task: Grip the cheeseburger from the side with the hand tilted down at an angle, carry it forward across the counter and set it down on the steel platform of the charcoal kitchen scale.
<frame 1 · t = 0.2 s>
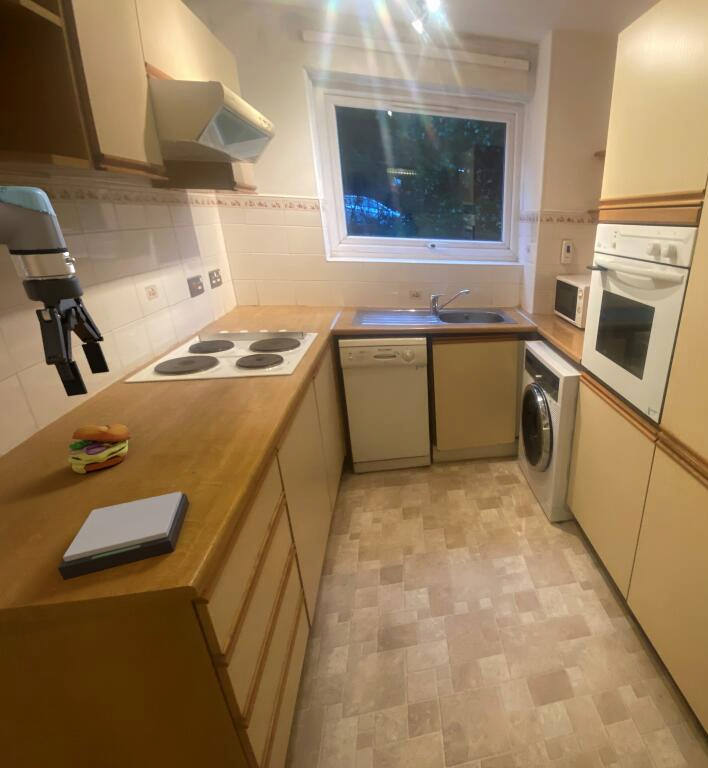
hand: (90, 383, 88), 20 cm above the countertop, tool pointing down, fingers open, 13 cm apart
cheeseburger: (104, 461, 98), on the countertop
kitchen scale: (133, 537, 75), on the countertop
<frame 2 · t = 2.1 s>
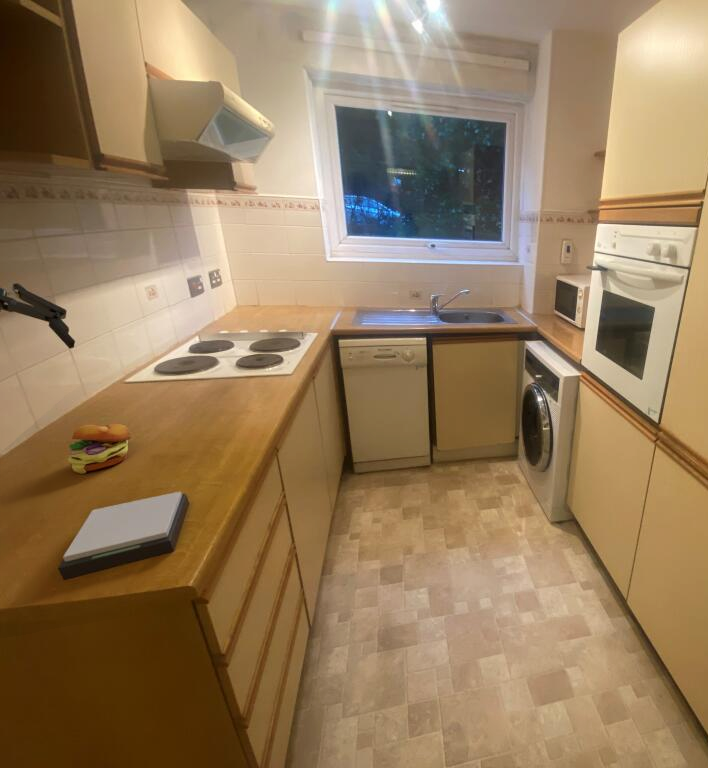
hand: (32, 355, 90), 24 cm above the countertop, tool tilted 40°, fingers open, 13 cm apart
nothing on the countertop moved.
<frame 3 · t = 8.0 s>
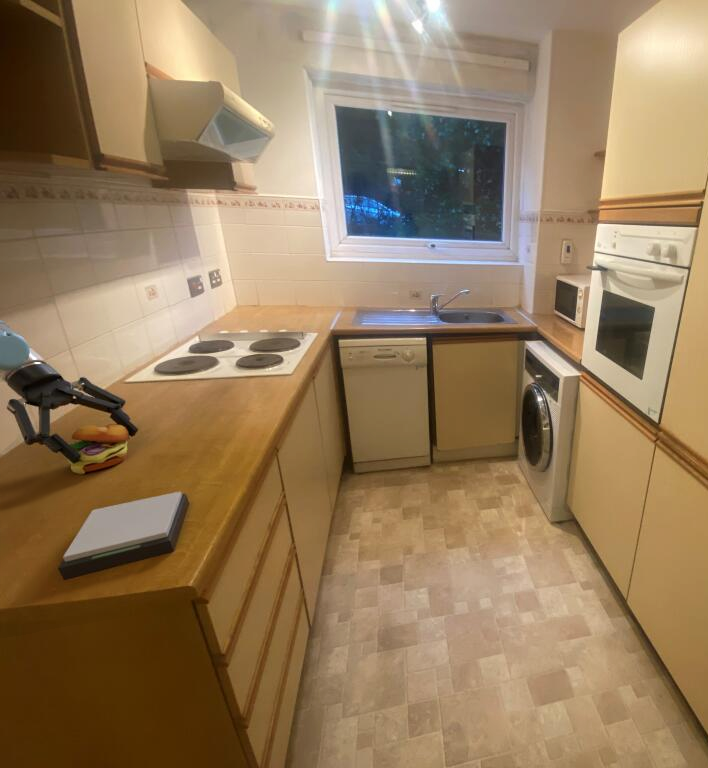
hand: (107, 445, 95), 4 cm above the countertop, tool tilted 45°, fingers closed on cheeseburger, 11 cm apart
cheeseburger: (103, 462, 97), on the countertop, touching gripper
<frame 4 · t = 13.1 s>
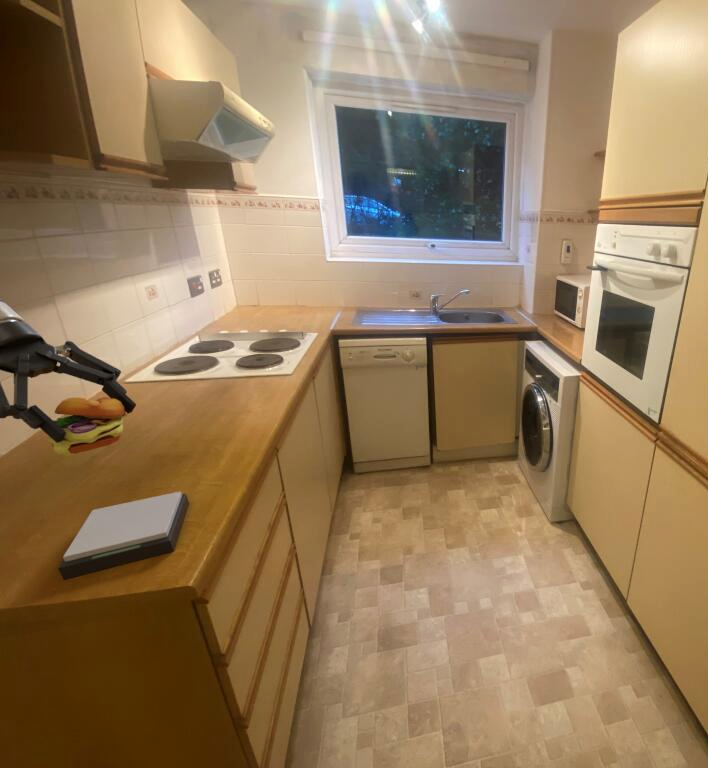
hand: (99, 422, 79), 17 cm above the countertop, tool tilted 45°, fingers closed on cheeseburger, 11 cm apart
cheeseburger: (94, 443, 81), point 12 cm above the countertop, touching gripper
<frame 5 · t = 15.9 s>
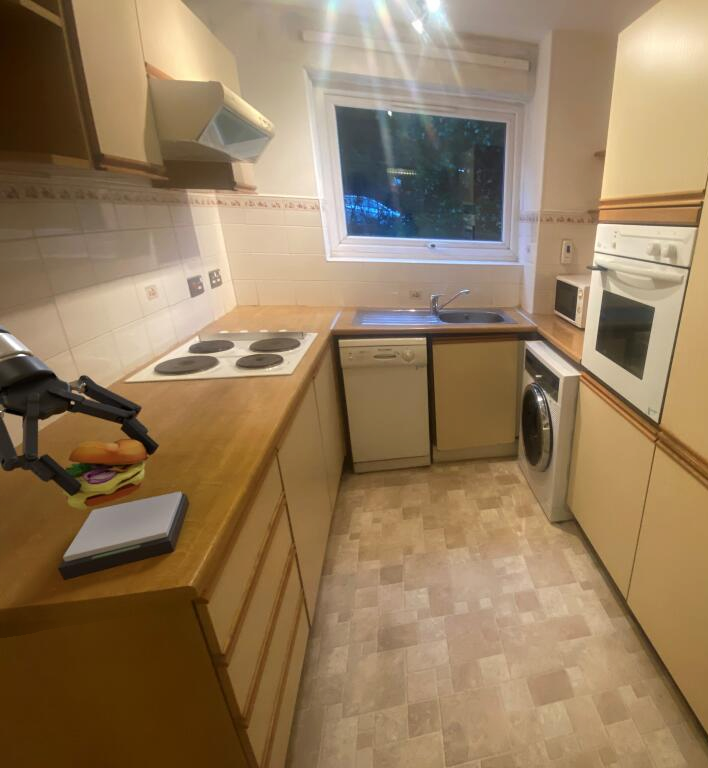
hand: (118, 469, 69), 14 cm above the countertop, tool tilted 45°, fingers closed on cheeseburger, 11 cm apart
cheeseburger: (113, 491, 71), point 10 cm above the countertop, touching gripper
when the fingers open (8 cm above the countertop, at t = 18.4 s): cheeseburger stays where it is, resting on kitchen scale.
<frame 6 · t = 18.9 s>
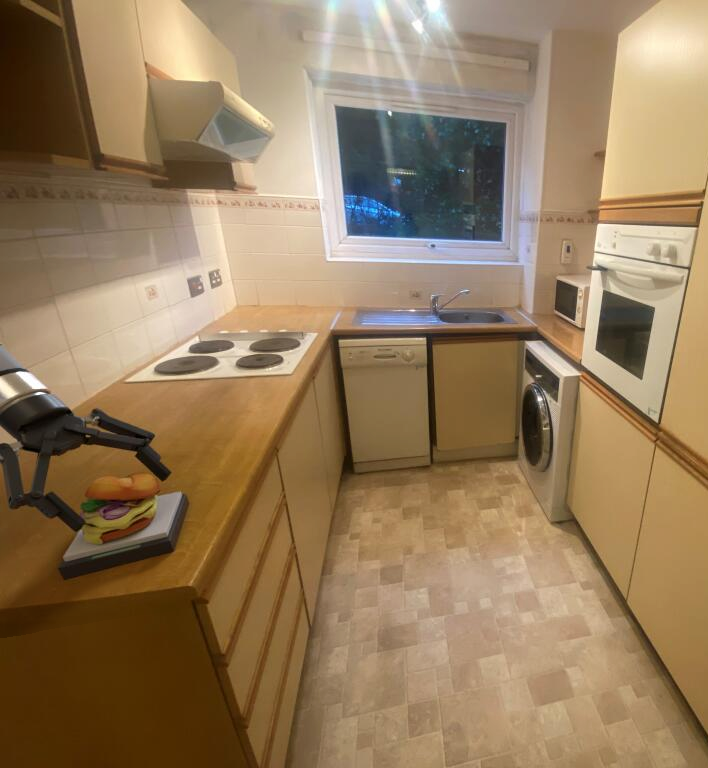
hand: (127, 500, 72), 8 cm above the countertop, tool tilted 45°, fingers open, 13 cm apart
cheeseburger: (126, 523, 74), point 3 cm above the countertop, touching kitchen scale
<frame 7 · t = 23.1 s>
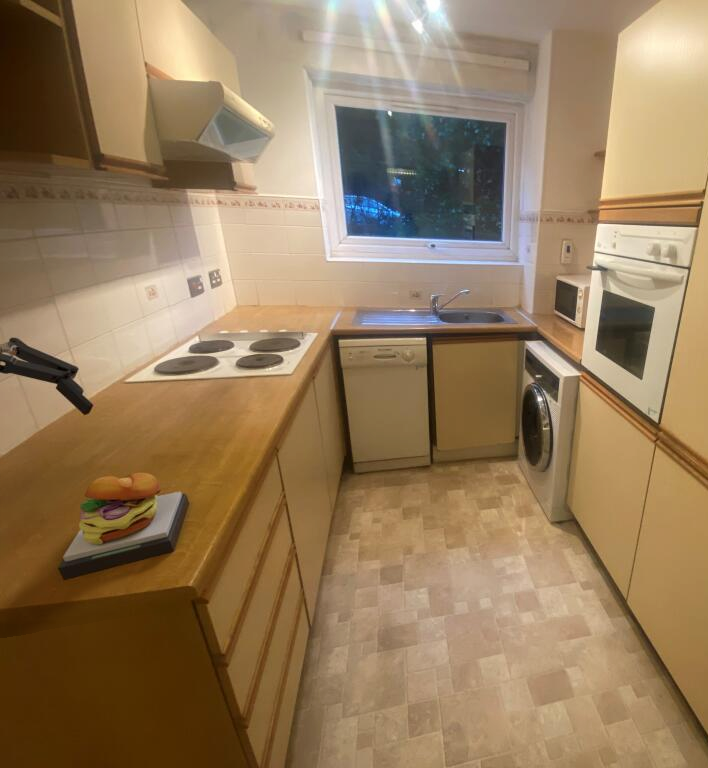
hand: (42, 427, 70), 20 cm above the countertop, tool tilted 45°, fingers open, 13 cm apart
nothing on the countertop moved.
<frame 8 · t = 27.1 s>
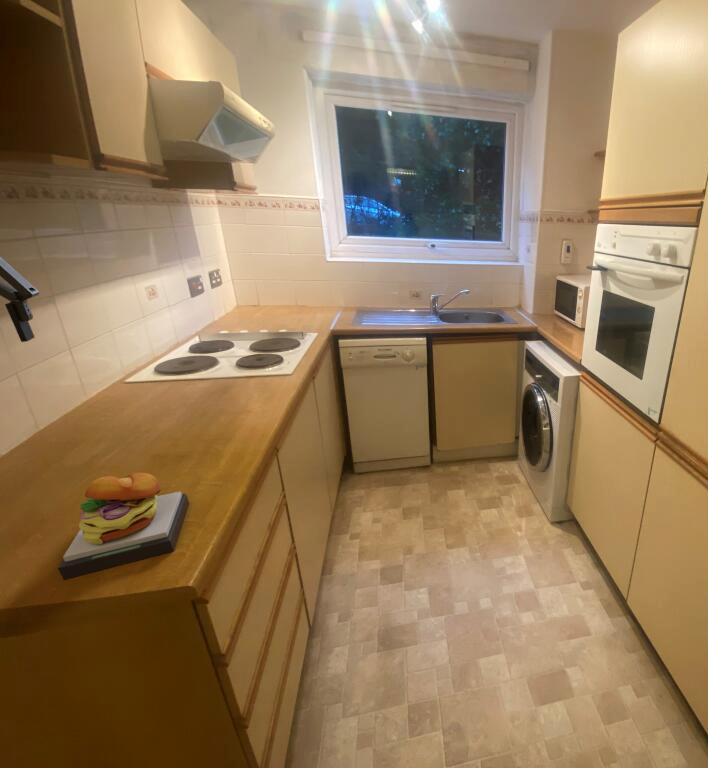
nothing on the countertop moved.
at the end: cheeseburger inside the target area on the kitchen scale (0.6 cm from its centre), point 3.2 cm above the kitchen scale's base; cheeseburger tilted 0°; the gripper is holding nothing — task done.
